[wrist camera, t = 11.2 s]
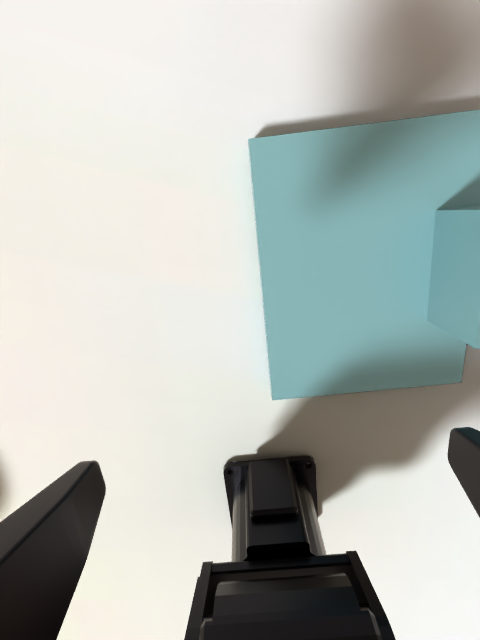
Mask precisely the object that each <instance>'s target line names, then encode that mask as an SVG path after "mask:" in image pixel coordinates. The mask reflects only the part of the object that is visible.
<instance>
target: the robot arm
mask: <svg viewBox="0 0 480 640" xmlns="http://www.w3.org/2000/svg"><path fill="white" fill-rule="evenodd" d="M448 461H449V464H450V466H451V468H452V469H453V471H454V473H455V475H456V477H457V478H458V480H459V482H460V484H461V485H462V487H463V489H464V491H465V493H466V494H467V496H468V498H469V500H470V501H471V503H472V505H473V507H474V509H475V510H476V512H477V514H478V516H479V517H480V431H478V430H476V429H473V428H470V427H463V428H454V429H452V430H451V432H450V439H449V447H448ZM306 463H310V464H306ZM229 470H233V471H229ZM224 479H225V486H226V492H227V498H228V505H229V511H230V517H231V523H232V562H224V563H213V561H212V562H203V565H202V569H201V574H200V577H198V579H197V584H196V588H195V593H194V597H193V602H192V607H191V611H190V616H189V620H188V625H187V630H186V634H185V639H184V640H395V637H394V634H393V631H392V628H391V626H390V623H389V621H388V619H387V616H386V614H385V612H384V610H383V608H382V605H381V603H380V601H379V599H378V597H377V595H376V592H375V590H374V588H373V586H372V584H371V582H370V580H369V577H368V575H367V573H366V571H365V569H364V567H363V565H362V562H361V560H360V558H359V556H358V554H357V552H356V551H346V553H345V554H331V555H326V551H325V547H324V543H323V539H322V535H321V531H320V527H319V523H318V513H317V490H316V466H315V462H314V459H313V458H312V457H311V456H299V457H288V458H276V459H265V460H253V461H242V462H230V463H227V464H225V466H224ZM105 491H106V486H105V482H104V479H103V475H102V472H101V469H100V466H99V463H98V462H97V461H94V460H93V461H83V462H80V463H78V464H77V465H75V466H74V467H73V468H71V469H70V470H69V471H67V472H66V473H65V474H63V475H62V476H61V477H59V478H58V479H57V480H55V481H54V482H53V483H52V484H50V485H49V486H48V487H46V488H45V489H44V490H42V491H41V492H40V493H38V494H37V495H36V496H34V497H33V498H32V499H30V500H29V501H28V502H26V503H25V504H24V505H22V506H21V507H20V508H19V509H17V510H16V511H15V512H13V513H12V514H11V515H9V516H8V517H7V518H5V519H4V520H3V521H1V522H0V640H56V639H57V636H58V634H59V631H60V628H61V626H62V623H63V620H64V618H65V615H66V613H67V610H68V607H69V605H70V602H71V600H72V597H73V594H74V592H75V589H76V586H77V584H78V581H79V579H80V576H81V573H82V571H83V568H84V565H85V562H86V560H87V556H88V553H89V550H90V547H91V543H92V539H93V536H94V532H95V529H96V525H97V522H98V518H99V514H100V511H101V507H102V504H103V500H104V497H105Z"/></svg>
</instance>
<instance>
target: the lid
mask: <svg viewBox="0 0 480 640" xmlns="http://www.w3.org/2000/svg"><path fill="white" fill-rule="evenodd" d="M248 145H249V156H250V167H251V178H252V188H253V199H254V210H255V221H256V232H257V243H258V254H259V265H260V276H261V286H262V297H263V308H264V319H265V330H266V341H267V352H268V363H269V374H270V384H271V394H272V400H280V399H291V398H302V397H313V396H323V395H334V394H345V393H355V392H366V391H377V390H388V389H398V388H409V387H420V386H430V385H441V384H452V383H462V375H463V367H464V359H465V351H466V344H468V345H470V346H471V347H473V348H475V349H479V348H480V110H472V111H465V112H457V113H449V114H441V115H433V116H425V117H417V118H409V119H402V120H394V121H386V122H378V123H370V124H362V125H354V126H346V127H339V128H331V129H323V130H315V131H307V132H299V133H291V134H284V135H276V136H268V137H260V138H252V139H249V140H248Z"/></svg>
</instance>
